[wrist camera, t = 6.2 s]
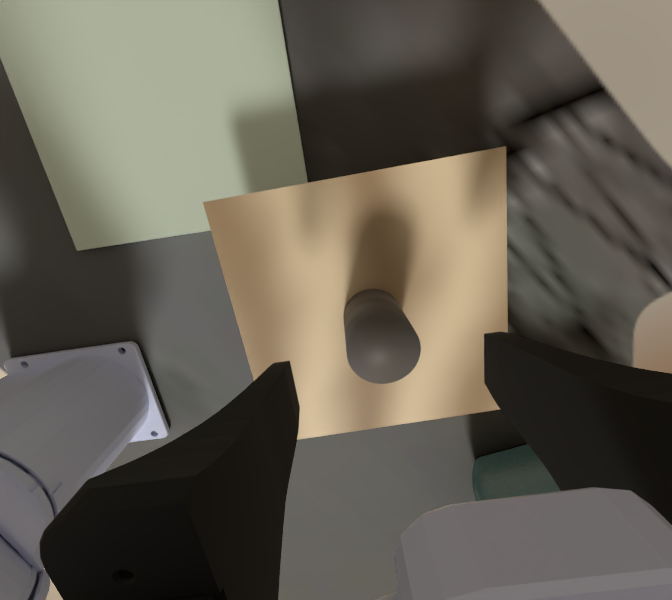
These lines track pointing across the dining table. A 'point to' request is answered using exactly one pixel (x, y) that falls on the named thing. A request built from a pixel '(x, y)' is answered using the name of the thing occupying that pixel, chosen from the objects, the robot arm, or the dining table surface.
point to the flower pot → (511, 475)
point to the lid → (373, 288)
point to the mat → (152, 108)
